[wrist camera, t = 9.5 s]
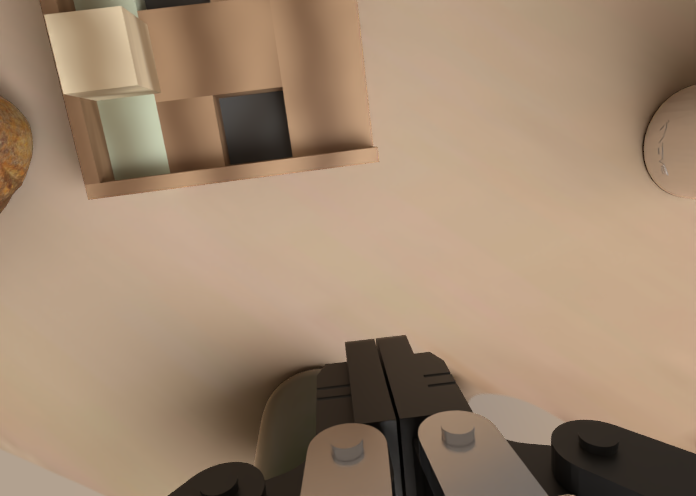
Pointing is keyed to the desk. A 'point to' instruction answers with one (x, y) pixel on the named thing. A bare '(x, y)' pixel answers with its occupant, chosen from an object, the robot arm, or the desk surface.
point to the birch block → (103, 53)
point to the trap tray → (228, 96)
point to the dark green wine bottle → (287, 425)
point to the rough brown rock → (13, 150)
